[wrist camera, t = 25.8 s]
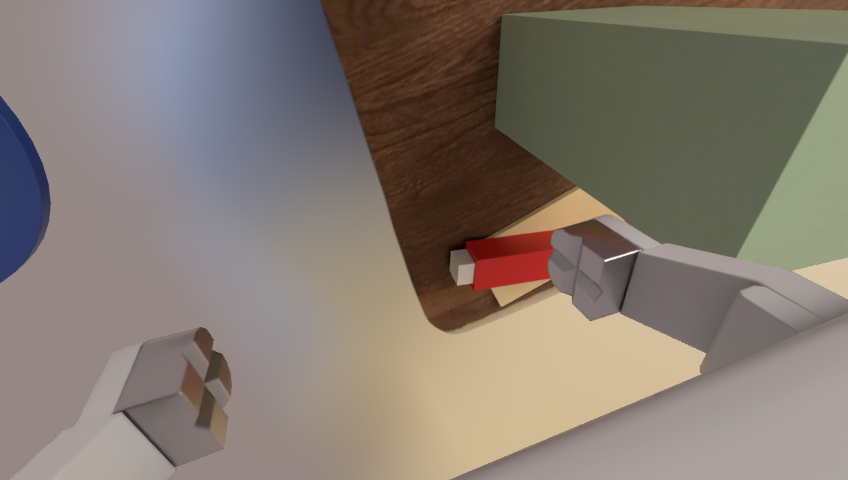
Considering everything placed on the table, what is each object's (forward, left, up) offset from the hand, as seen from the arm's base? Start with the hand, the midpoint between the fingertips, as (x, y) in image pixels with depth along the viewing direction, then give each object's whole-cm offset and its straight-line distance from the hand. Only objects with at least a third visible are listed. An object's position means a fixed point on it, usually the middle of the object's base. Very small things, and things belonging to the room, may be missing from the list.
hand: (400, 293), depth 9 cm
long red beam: (+11, -30, -28) cm, 42 cm away
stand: (+20, -10, -29) cm, 36 cm away
